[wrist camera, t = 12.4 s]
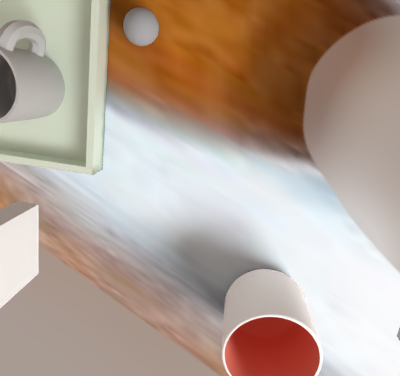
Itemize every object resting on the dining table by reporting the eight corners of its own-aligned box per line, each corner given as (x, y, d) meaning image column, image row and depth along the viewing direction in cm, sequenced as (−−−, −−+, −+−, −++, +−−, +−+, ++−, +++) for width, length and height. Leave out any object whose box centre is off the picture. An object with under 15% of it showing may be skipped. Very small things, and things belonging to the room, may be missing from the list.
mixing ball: (130, 9, 37) (119, 1, 33) (163, 13, 37) (155, 5, 33) (128, 45, 38) (117, 41, 34) (160, 49, 38) (152, 45, 34)
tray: (-33, -32, 37) (-56, -43, 35) (111, -16, 36) (100, -25, 34) (-23, 150, 43) (-42, 154, 40) (102, 169, 42) (92, 174, 39)
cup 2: (216, 322, 46) (211, 382, 36) (236, 255, 43) (235, 302, 34) (290, 342, 46) (304, 408, 36) (315, 276, 43) (337, 329, 33)
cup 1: (-1, 100, 40) (-66, 103, 32) (23, 14, 38) (-40, -8, 29) (55, 128, 41) (6, 138, 32) (84, 44, 38) (38, 30, 29)
